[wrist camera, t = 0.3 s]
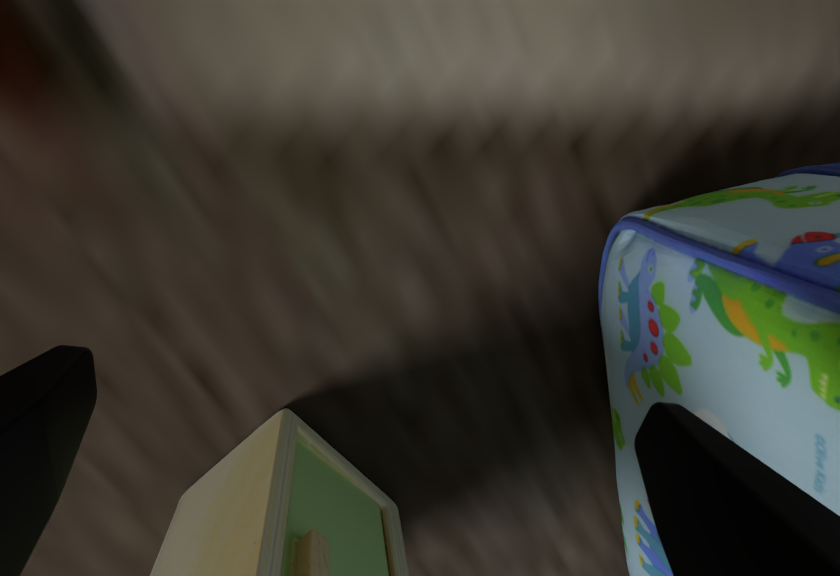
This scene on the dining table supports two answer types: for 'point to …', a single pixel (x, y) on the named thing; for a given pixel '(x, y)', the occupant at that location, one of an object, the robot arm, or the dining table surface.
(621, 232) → the lunch box
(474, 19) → the dining table surface
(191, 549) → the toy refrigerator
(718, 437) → the robot arm
